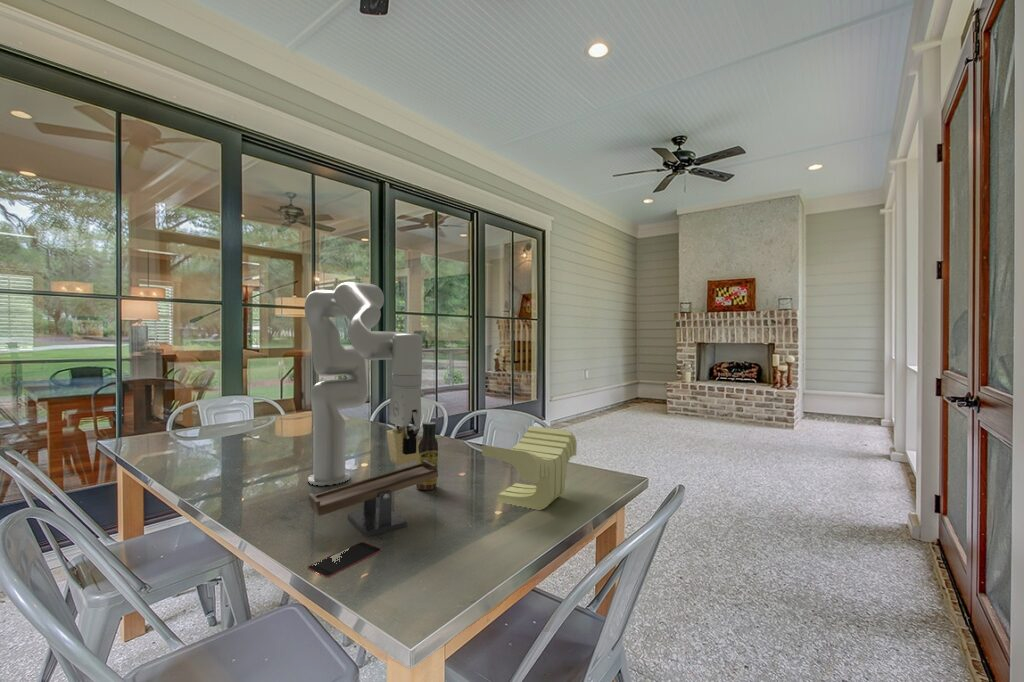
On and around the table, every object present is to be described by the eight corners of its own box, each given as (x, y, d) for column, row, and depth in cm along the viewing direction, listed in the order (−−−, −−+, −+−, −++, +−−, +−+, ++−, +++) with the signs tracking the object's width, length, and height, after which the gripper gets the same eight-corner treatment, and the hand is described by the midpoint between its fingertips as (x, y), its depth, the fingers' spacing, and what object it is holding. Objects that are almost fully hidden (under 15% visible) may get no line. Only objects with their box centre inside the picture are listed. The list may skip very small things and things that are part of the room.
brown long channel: (309, 507, 109) (307, 492, 108) (424, 472, 127) (423, 458, 127) (318, 519, 102) (317, 503, 102) (438, 479, 121) (437, 465, 120)
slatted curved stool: (535, 524, 115) (537, 453, 115) (481, 511, 123) (482, 445, 122) (575, 488, 142) (576, 431, 142) (528, 480, 149) (529, 425, 149)
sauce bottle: (419, 492, 137) (420, 425, 136) (413, 486, 142) (414, 421, 142) (440, 489, 140) (441, 423, 139) (434, 483, 145) (435, 420, 145)
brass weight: (390, 460, 120) (386, 430, 119) (411, 454, 123) (408, 425, 122) (397, 465, 116) (394, 434, 115) (419, 458, 119) (416, 428, 118)
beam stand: (347, 518, 117) (348, 483, 117) (385, 509, 123) (386, 476, 123) (366, 536, 107) (366, 498, 106) (406, 526, 113) (407, 489, 112)
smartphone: (383, 549, 100) (327, 577, 89) (383, 551, 100) (327, 580, 89) (361, 540, 104) (305, 566, 92) (361, 543, 104) (305, 569, 92)
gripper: (380, 378, 123) (378, 445, 124) (407, 385, 110) (405, 461, 110) (406, 377, 128) (404, 442, 128) (435, 384, 114) (433, 456, 115)
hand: (405, 450), depth 119 cm, fingers closed on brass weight, 5 cm apart
